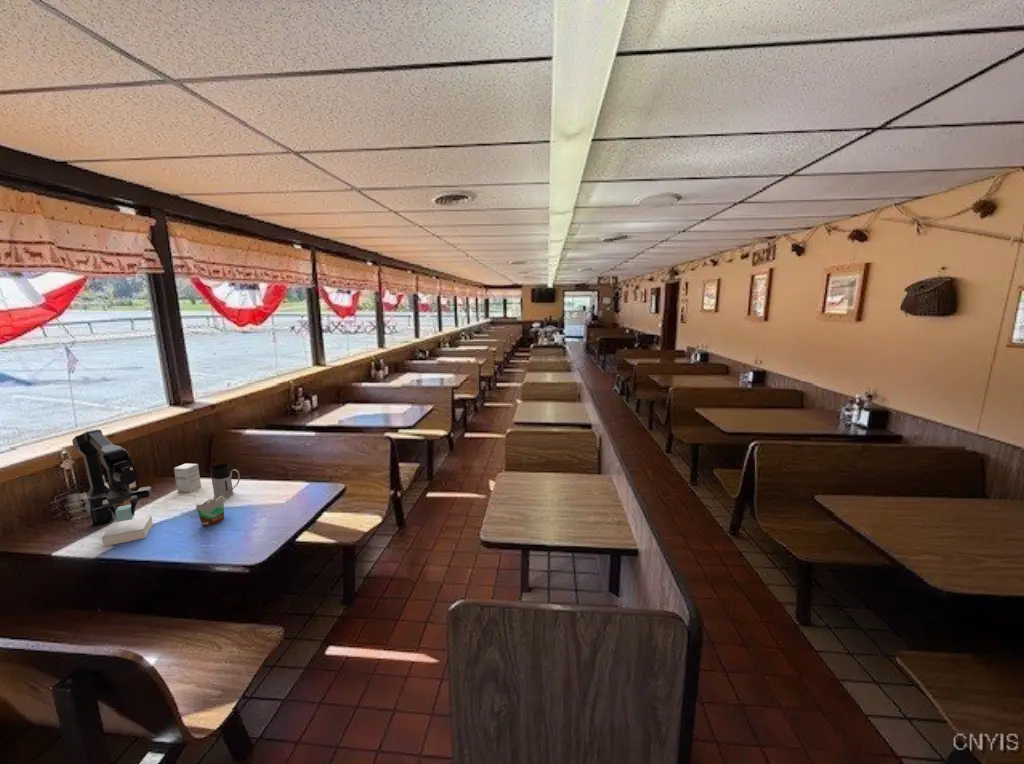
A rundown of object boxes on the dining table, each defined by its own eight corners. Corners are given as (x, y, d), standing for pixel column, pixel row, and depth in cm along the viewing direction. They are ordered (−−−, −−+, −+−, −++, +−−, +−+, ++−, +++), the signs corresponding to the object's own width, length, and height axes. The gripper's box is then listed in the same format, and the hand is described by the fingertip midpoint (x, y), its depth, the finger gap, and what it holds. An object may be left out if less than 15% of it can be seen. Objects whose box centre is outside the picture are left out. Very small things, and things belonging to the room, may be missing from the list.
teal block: (117, 522, 183) (115, 511, 182) (120, 517, 187) (118, 506, 186) (131, 519, 185) (129, 508, 184) (134, 514, 189) (132, 504, 188)
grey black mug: (222, 491, 228) (218, 463, 225) (248, 492, 226) (244, 464, 223) (209, 499, 219) (204, 469, 217) (235, 500, 217) (231, 470, 215)
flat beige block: (103, 546, 178) (101, 537, 178) (114, 531, 190) (112, 522, 189) (144, 538, 184) (143, 528, 183) (153, 524, 196) (151, 515, 195)
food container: (211, 528, 190) (207, 506, 189) (198, 527, 192) (195, 505, 190) (234, 515, 202) (231, 493, 200) (222, 514, 204) (219, 493, 202)
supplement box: (177, 492, 229) (172, 468, 227) (189, 486, 236) (185, 462, 234) (189, 492, 228) (185, 468, 225) (202, 486, 235) (198, 463, 233)
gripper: (80, 491, 172) (88, 530, 174) (142, 482, 180) (149, 518, 182) (91, 481, 181) (98, 518, 184) (149, 472, 189) (155, 507, 192)
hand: (125, 515), depth 186 cm, fingers closed on teal block, 5 cm apart
